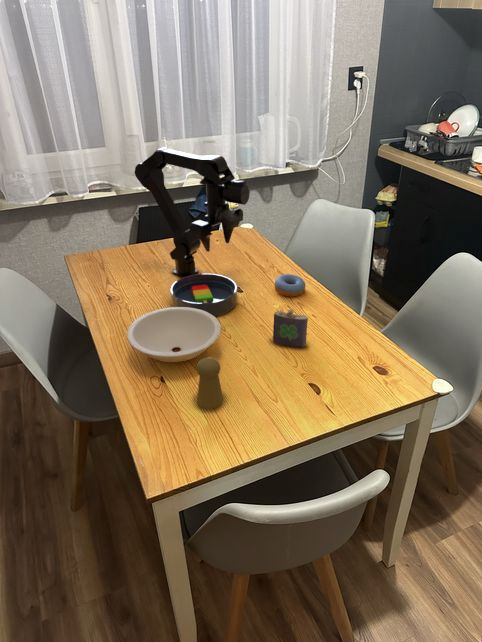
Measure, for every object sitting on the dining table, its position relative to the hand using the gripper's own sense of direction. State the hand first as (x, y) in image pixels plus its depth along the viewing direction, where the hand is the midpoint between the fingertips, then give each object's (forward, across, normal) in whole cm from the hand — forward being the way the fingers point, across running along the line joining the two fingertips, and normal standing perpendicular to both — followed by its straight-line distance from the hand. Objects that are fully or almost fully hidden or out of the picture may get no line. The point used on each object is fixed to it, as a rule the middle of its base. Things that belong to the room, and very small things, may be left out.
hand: (217, 247), depth 161 cm
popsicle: (+12, -14, -7) cm, 20 cm away
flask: (+12, -16, -41) cm, 46 cm away
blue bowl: (+12, -14, -7) cm, 20 cm away
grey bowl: (+12, -38, -20) cm, 45 cm away
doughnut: (+12, +9, -23) cm, 28 cm away
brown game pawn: (+12, -47, -41) cm, 63 cm away
